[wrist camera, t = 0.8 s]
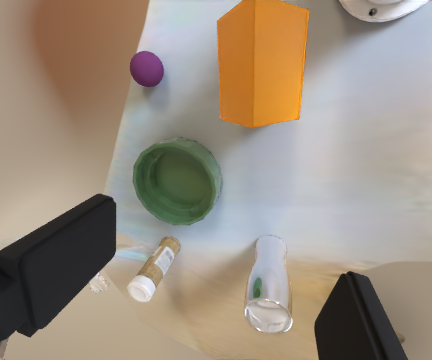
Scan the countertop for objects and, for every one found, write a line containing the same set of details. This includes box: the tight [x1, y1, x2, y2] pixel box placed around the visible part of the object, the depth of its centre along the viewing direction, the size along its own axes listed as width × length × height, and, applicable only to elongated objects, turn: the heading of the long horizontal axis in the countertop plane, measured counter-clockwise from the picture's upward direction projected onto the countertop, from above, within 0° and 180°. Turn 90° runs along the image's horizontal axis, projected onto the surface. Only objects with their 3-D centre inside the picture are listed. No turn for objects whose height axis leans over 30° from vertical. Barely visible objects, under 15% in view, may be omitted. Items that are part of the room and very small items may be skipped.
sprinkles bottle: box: [127, 237, 180, 302], centre depth 45 cm, size 5×5×13 cm
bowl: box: [133, 137, 222, 225], centre depth 41 cm, size 15×15×5 cm
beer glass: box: [243, 235, 293, 334], centre depth 38 cm, size 7×7×15 cm
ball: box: [130, 51, 164, 87], centre depth 35 cm, size 5×5×5 cm
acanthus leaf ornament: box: [89, 271, 109, 294], centre depth 61 cm, size 8×7×2 cm
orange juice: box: [217, 0, 309, 128], centre depth 25 cm, size 8×9×20 cm
